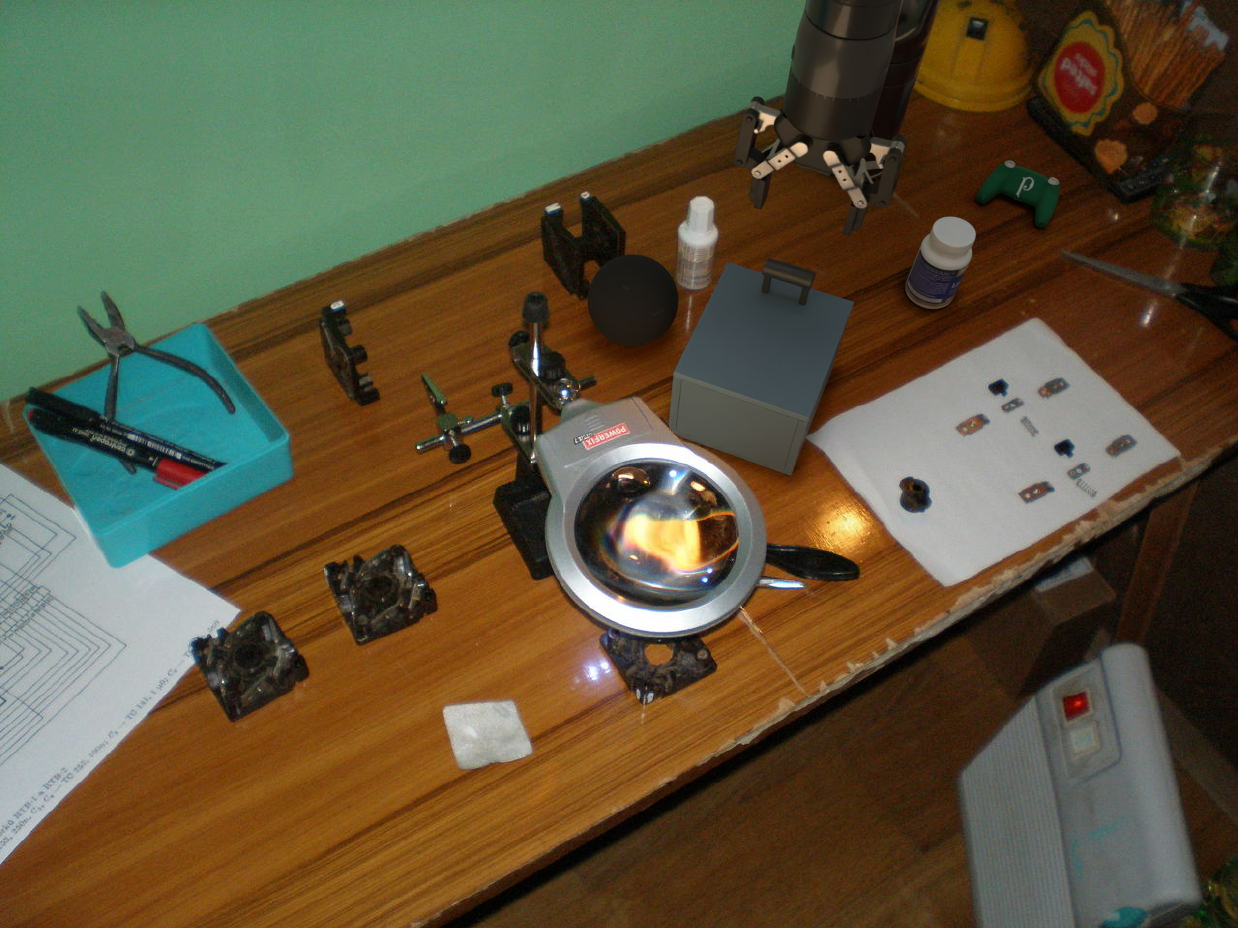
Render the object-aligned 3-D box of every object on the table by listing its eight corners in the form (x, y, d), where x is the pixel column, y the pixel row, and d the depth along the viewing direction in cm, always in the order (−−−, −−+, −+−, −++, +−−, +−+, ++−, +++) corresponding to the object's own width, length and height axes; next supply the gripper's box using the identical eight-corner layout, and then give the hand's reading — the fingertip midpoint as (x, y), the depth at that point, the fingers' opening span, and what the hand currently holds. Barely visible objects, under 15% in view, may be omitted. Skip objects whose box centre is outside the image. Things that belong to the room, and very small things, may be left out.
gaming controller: (1043, 231, 123) (1068, 186, 122) (1044, 228, 120) (1070, 181, 118) (974, 203, 126) (998, 158, 124) (973, 199, 122) (997, 153, 121)
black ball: (662, 374, 109) (667, 315, 100) (576, 352, 110) (574, 292, 102) (685, 308, 114) (692, 246, 105) (603, 288, 115) (603, 226, 107)
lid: (726, 267, 104) (732, 232, 99) (852, 307, 101) (864, 273, 97) (673, 376, 96) (676, 344, 92) (807, 423, 93) (817, 391, 89)
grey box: (714, 333, 112) (723, 273, 103) (831, 371, 109) (850, 313, 101) (667, 432, 105) (673, 377, 96) (791, 476, 102) (807, 423, 93)
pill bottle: (952, 314, 114) (980, 254, 105) (902, 306, 114) (926, 245, 106) (953, 278, 117) (981, 216, 108) (905, 270, 117) (928, 208, 109)
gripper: (939, 59, 78) (888, 211, 92) (768, 15, 80) (744, 169, 94) (916, 117, 74) (867, 266, 88) (738, 69, 77) (718, 221, 91)
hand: (803, 216), depth 91 cm, fingers open, 8 cm apart
